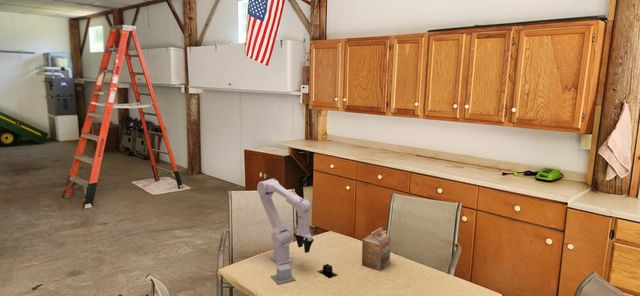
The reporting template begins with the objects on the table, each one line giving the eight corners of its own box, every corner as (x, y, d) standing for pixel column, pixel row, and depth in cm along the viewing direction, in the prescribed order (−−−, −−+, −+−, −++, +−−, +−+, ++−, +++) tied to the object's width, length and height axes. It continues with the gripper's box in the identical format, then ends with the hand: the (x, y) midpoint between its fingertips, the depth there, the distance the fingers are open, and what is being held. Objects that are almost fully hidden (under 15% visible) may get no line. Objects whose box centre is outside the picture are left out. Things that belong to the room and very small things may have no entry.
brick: (276, 277, 208) (276, 267, 207) (287, 274, 211) (287, 264, 210) (279, 280, 204) (279, 270, 204) (291, 277, 207) (291, 268, 206)
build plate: (314, 272, 217) (314, 263, 216) (325, 268, 221) (325, 259, 220) (329, 281, 207) (330, 272, 206) (341, 276, 211) (341, 267, 211)
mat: (270, 277, 209) (270, 275, 209) (287, 273, 214) (287, 271, 213) (278, 284, 201) (278, 283, 201) (295, 280, 206) (295, 279, 206)
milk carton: (379, 271, 217) (380, 235, 213) (361, 265, 223) (362, 230, 220) (389, 264, 225) (391, 229, 222) (372, 258, 231) (373, 225, 228)
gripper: (290, 220, 220) (290, 246, 222) (303, 229, 207) (302, 256, 209) (302, 218, 223) (302, 243, 225) (315, 227, 211) (315, 253, 213)
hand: (303, 249), depth 218 cm, fingers open, 7 cm apart
